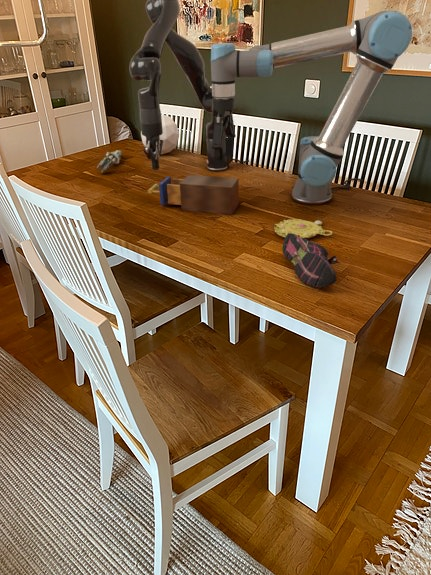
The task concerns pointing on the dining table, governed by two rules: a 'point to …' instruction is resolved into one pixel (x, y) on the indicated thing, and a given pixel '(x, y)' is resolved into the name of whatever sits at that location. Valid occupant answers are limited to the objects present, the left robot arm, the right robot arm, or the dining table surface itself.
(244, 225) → the dining table surface
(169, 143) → the sphere
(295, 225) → the decorative object
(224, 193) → the cabinet
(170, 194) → the drawer
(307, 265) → the athletic shoe
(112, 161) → the figurine
